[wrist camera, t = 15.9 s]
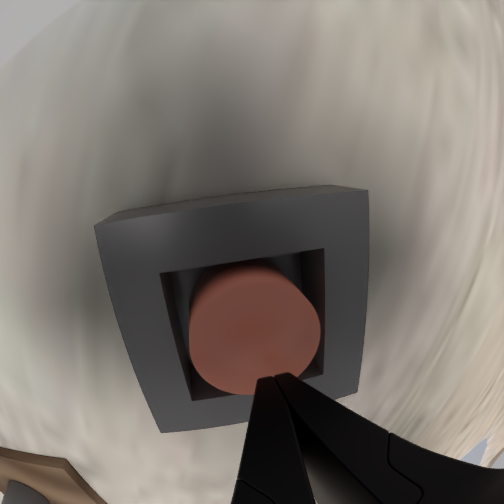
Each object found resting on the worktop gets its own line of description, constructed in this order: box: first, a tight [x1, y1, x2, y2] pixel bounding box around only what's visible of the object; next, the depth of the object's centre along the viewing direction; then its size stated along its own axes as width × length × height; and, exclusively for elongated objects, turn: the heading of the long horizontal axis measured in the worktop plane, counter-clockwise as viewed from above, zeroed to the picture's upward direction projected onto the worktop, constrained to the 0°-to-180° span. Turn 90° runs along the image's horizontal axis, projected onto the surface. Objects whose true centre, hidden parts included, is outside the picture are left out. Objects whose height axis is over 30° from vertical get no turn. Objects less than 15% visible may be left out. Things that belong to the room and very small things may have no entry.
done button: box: [189, 258, 321, 395], centre depth 11 cm, size 4×4×3 cm
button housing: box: [94, 185, 369, 433], centre depth 12 cm, size 9×9×3 cm
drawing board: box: [0, 447, 107, 504], centre depth 14 cm, size 16×14×1 cm
